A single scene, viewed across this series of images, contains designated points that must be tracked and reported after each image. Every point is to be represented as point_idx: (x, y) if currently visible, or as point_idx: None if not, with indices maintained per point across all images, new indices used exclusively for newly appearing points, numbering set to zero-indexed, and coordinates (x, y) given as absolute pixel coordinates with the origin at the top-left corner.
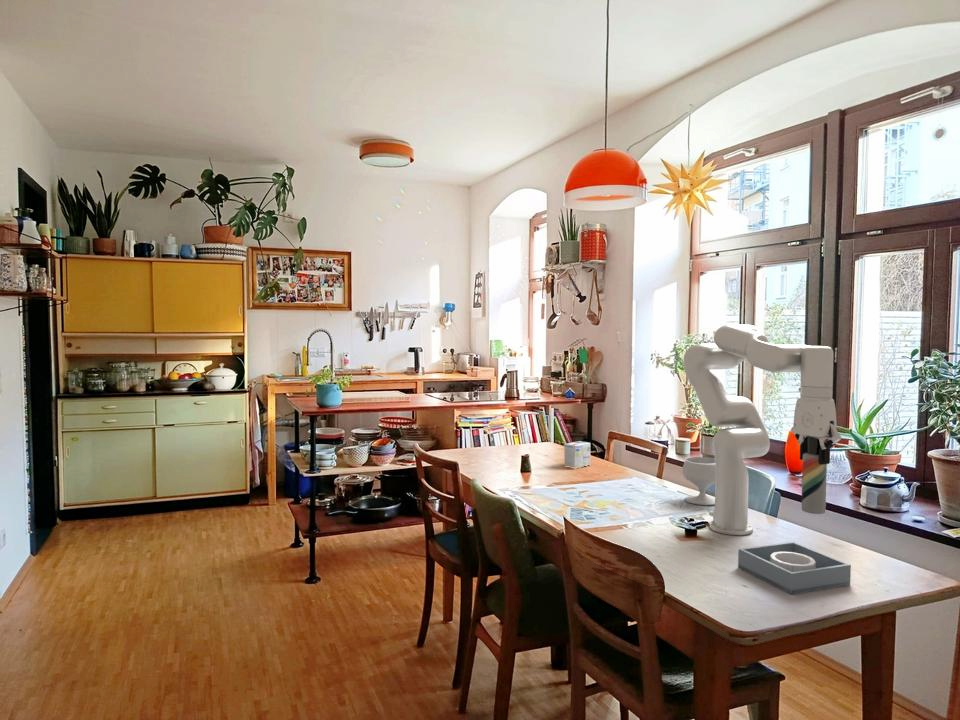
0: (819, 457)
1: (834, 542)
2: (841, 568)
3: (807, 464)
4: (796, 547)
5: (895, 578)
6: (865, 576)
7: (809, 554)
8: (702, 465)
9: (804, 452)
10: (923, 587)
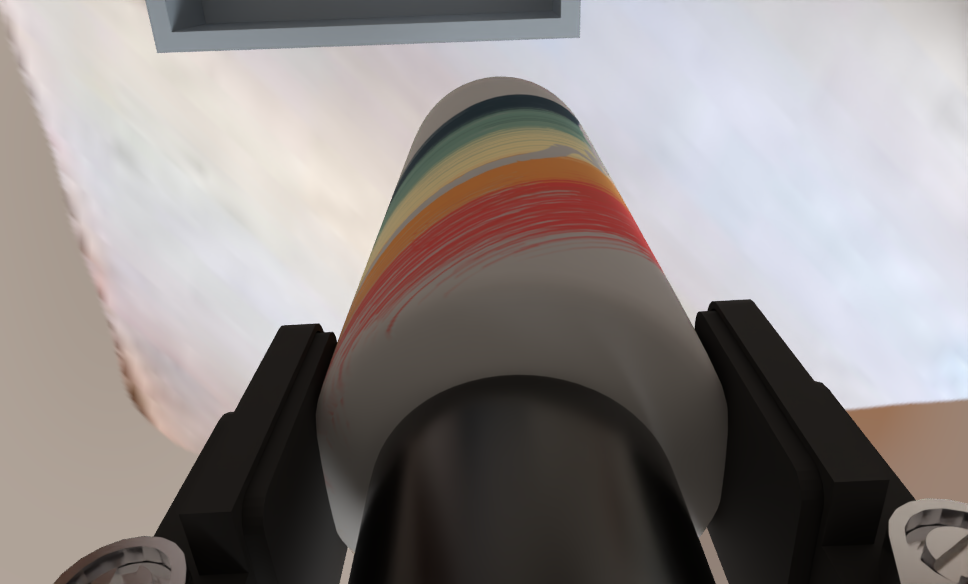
0: (275, 383)
1: None
2: None
3: (484, 218)
4: (533, 17)
5: (248, 301)
6: (289, 201)
7: (433, 20)
8: None
9: (733, 427)
10: (146, 323)
